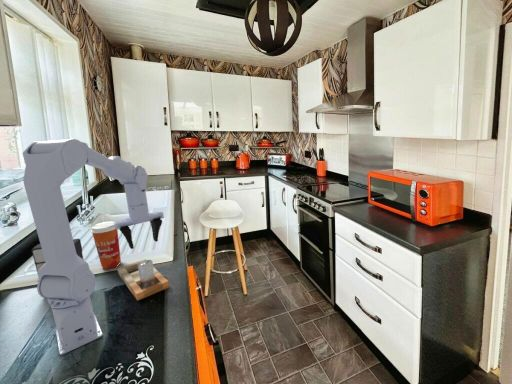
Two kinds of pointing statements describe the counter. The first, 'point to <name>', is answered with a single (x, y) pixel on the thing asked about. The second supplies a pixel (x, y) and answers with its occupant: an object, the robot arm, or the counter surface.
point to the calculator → (39, 255)
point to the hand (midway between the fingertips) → (144, 244)
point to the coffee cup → (107, 244)
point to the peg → (146, 273)
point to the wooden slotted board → (135, 284)
